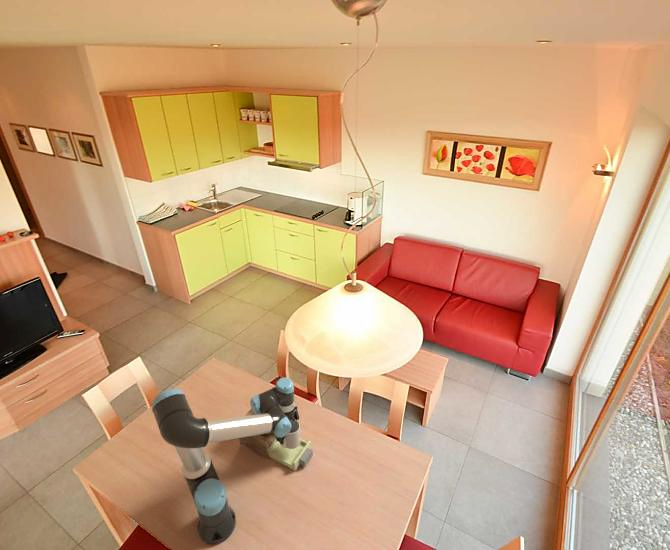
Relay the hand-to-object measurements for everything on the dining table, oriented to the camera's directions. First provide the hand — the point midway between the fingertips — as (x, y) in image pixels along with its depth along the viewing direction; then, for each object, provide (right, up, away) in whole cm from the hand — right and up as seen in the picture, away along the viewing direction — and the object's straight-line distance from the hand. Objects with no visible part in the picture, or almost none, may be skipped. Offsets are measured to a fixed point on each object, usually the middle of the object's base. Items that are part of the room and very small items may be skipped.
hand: (288, 439), depth 188 cm
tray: (+1, -8, +4) cm, 9 cm away
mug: (0, -1, 0) cm, 1 cm away
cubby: (-14, -5, +11) cm, 19 cm away
